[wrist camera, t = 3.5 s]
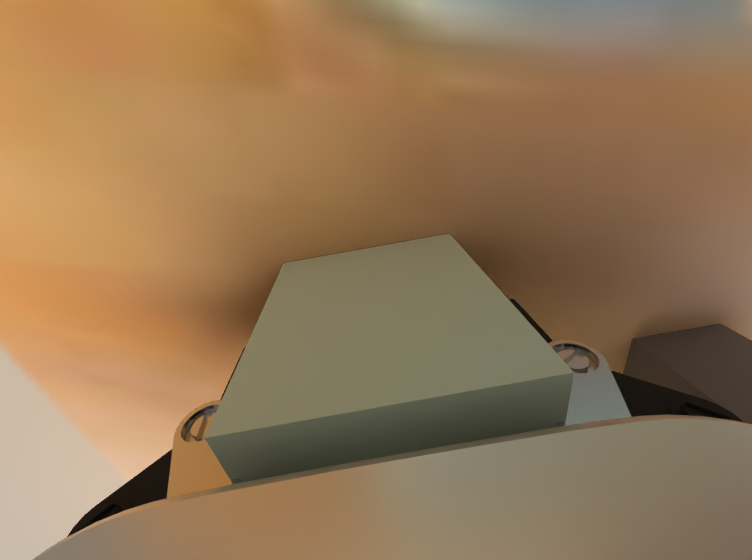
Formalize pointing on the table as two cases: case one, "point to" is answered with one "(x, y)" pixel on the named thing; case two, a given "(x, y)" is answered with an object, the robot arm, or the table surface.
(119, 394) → the table surface
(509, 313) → the block
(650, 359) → the block
